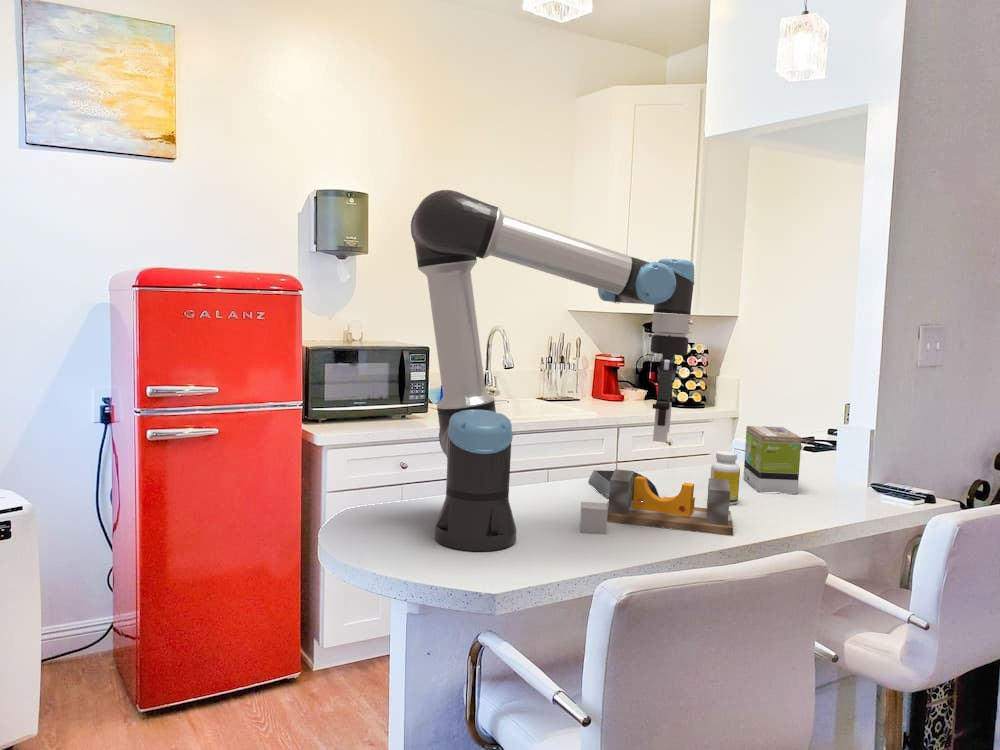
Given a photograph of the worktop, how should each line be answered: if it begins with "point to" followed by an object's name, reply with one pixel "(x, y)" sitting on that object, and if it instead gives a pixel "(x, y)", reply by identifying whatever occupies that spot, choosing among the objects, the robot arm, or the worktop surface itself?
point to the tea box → (772, 459)
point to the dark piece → (602, 482)
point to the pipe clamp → (663, 499)
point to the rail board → (701, 520)
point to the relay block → (593, 518)
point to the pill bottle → (727, 472)
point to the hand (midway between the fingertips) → (661, 436)
